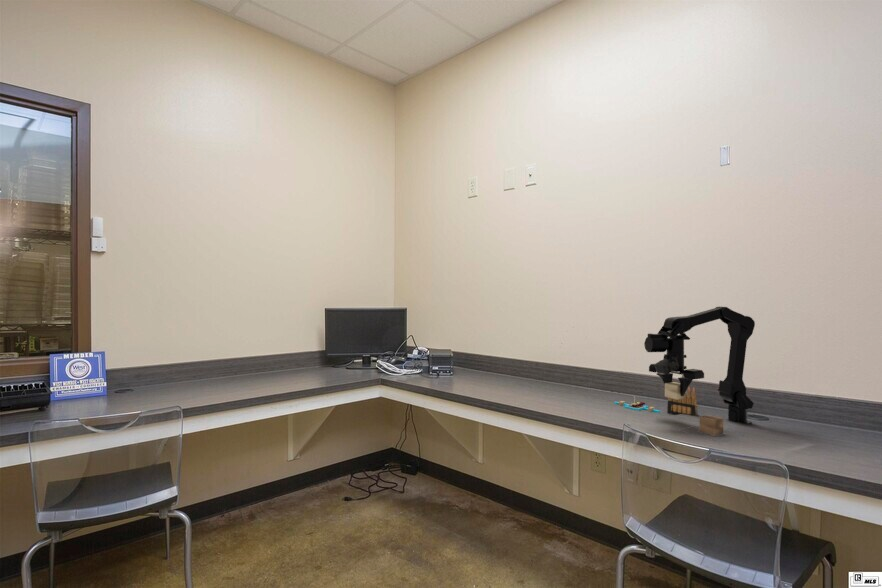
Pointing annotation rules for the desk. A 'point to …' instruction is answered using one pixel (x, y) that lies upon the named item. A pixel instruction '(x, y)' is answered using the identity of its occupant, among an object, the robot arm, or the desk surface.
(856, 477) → the desk surface
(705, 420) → the walnut block
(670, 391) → the maple block
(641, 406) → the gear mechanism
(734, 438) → the blueprint board
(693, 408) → the ammunition clip
